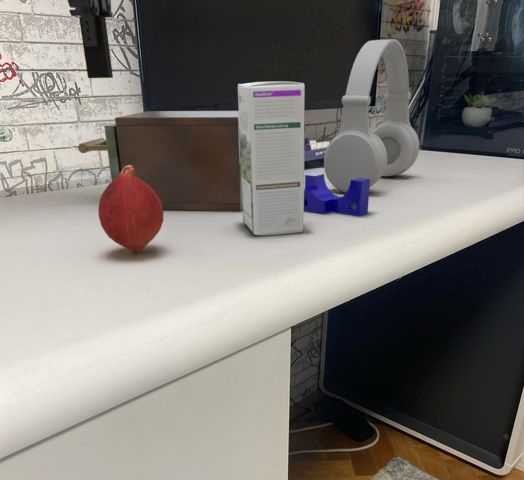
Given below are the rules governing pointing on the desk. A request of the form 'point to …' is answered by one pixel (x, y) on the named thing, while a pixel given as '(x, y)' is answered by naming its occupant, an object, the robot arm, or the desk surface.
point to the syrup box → (272, 156)
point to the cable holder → (326, 201)
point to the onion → (130, 211)
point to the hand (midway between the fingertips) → (100, 77)
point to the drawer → (106, 148)
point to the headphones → (357, 122)
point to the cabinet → (185, 157)
